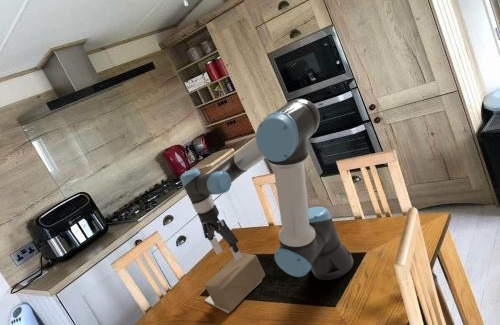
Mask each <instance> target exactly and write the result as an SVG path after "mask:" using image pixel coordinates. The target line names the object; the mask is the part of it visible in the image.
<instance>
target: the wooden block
mask: <svg viewBox="0 0 500 325" xmlns="http://www.w3.org/2000/svg"><path fill="white" fill-rule="evenodd" d="M240 253H241V255H242V257H241V258H240V259H239V260H238V261H236V260H235V258H234V257H233V258H232V259H231V260H230V261H229V262H228V263H226V264H225V265H224V266H223V267H222V268H221V269H220V270H219V271H218V272H216V273H215V275H213V276H212V277H211V278H210V279H209V280H208V281H207V282H205V284H204V287H205V289H206V291H207V293H208V295H209V296H210V297H211V299H212V301H213V302H214V304H215V306H217V307H220V308H223V309H226V310H228V311H230V312H232V311H233V310H234V309H235V308H236V307H237V306H239V304H241V302H242V301H243V300H244V299H245V298H246V297H247V296H248V295H249V294H251V292H252V291H253V290H254V289H255V288H256V287H257V286H258V285H259V284H260V283H261V282H260V281H261V280H262V281H263V279H264V278H265V277H266V274H265V272H264V270H263V267H262V265H261V263H260V261H259V259H258V256H257V255H256V254H252V253H251V254H250V253H246V252H240ZM259 282H260V283H259ZM258 283H259V284H258ZM257 284H258V285H257ZM256 285H257V286H256ZM255 286H256V287H255ZM254 287H255V288H254ZM253 288H254V289H253ZM252 289H253V290H252ZM251 290H252V291H251ZM250 291H251V292H250ZM215 306H214V307H215ZM217 307H216V308H217Z"/></svg>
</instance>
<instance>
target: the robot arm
mask: <svg viewBox="0 0 500 325" xmlns="http://www.w3.org/2000/svg"><path fill="white" fill-rule="evenodd" d="M320 121H321V115H320V111H319V109H318V107H317V106H316V105H315V104H314V103H313V102H312V101H310V100H307V99H306V98H296V99H293V100H290V101H288V102H287V103H285V104H283V105H282V106H281V107H280V108H278V109H276V111H274V112H271V113H270V114H268V115H267V116H266V117H265V118H264V119H263V120H262V121H261V122H260V123H259V125H258V127H257V129H256V133H255V137H254V138H253V139H251V141H249V142H248V143H247V144H245V145H244V146H243V147H242V148H240V149H239V150H238V151H237V152H236V153H234V154H232V155H231V156H230V157H229V158H228V159H227V160H225V161H224V162H223V163H221V164H219V165H218V166H217V167H215V169H213V170H211V171H210V172H208V173H201V171H200V170H199V168H191V169H189V170H186V171H185V172H184V173H181V175H180V182H181V184H182V187H183V189H184V191H185V193H186V194H187V196H188V198H189V200H190V202H191V205H192V207H193V209H194V210H195V212H196V213H197V216H198V218H199V221H200V223H201V227H202V231H203V236H204V238H205V239H207V240H208V241H209V242H210V245H211V247H212V248H213V250H214V252H215V254H216V256H218V255H219V254H221V253H222V252H223V249H222V247H221V245H220V242H219V241H218V239H217V237H216V235H215V232H216V234H219V235H220V236H221V237H222V238H223V239H224V240H225V241H226V243H227V244H228V248H229V249H230V252H231V254H232V255H233V258H235V260H236V261H238V260H239V259H240V258H241V257H242V255H241V253H242V252H241V253H240V249H239V247H238V245H237V244H238V242H239V239H238V238H237V237H236V235H235V234H234V233H233V231H232V230H231V228H230V227H229V226H228V225H227V223H226V221H225V220H224V219H221V220H220V218H219V217H218V216H219V215H220V211H219V210H218V207H217V205H216V204H215V201H214V199H213V195H221V194H225V193H227V192H228V191H230V189H231V186H232V184H233V182H234V181H235V180H236V179H238V178H239V177H241V175H243V174H244V173H246V172H247V171H249V170H250V169H251V168H253V167H255V166H256V165H257V164H258V163H260V162H261V161H263V160H264V159H266V160H267V162H268V163H269V164H270V165H272V166H273V173H274V180H275V186H276V194H277V201H278V207H279V214H280V215H279V216H280V222H281V228H280V229H279V231H278V233H277V235H278V242H279V243H278V244H279V247H278V248H277V249H276V250H275V252H274V256H273V257H274V261H275V263H276V264H277V266H278V267H279V268H280V269H281V270H282V271H283V272H285V273H286V274H288V275H290V276H293V277H298V278H302V277H304V276H306V275H308V273H309V272H310V271H311V272H312V274H313V275H314V278H317V279H319V280H321V281H330V280H335V279H336V280H337V279H339V278H340V277H342V276H345V275H346V274H348V272H350V270H351V269H352V268H353V266H354V259H353V256H352V254H351V252H350V250H348V249H347V247H345V245H344V243H342V242H341V239H340V236H339V233H338V231H337V228H336V226H335V224H334V221H333V217H332V215H331V213H330V211H329V209H327V208H326V207H323V206H314V207H309V206H308V205H309V204H308V196H307V195H308V193H307V183H306V182H307V181H306V174H305V163H304V162H305V161H306V160H307V159H308V158H309V148H308V141H309V140H308V139H310V138H311V137H312V136H313V135H314V134H315V133H316V132H317V130H318V128H319V126H320Z"/></svg>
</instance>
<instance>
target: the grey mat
mask: <svg viewBox="0 0 500 325" xmlns="http://www.w3.org/2000/svg"><path fill="white" fill-rule="evenodd" d="M262 281H263V279H262V280H261V281H260V282H259V283H258V284H257V285H256V286H255V287H254V288H253V289H252V290H251V291H250V293H251V292H252V291H253V290H255V289H256V288H257V286H259V284H261V283H262ZM204 302H206V303H207V304H209V305H211V306H213V307H216V308H217V309H220V310H221V311H223V312H225V313H227V314H229V313H230V312H231V311H228V310H226V309H223V308H220V307H217V306H215V304H214V302H213V301H212V299H211V297H210V295H209V296H208V297H206V299H204Z"/></svg>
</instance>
